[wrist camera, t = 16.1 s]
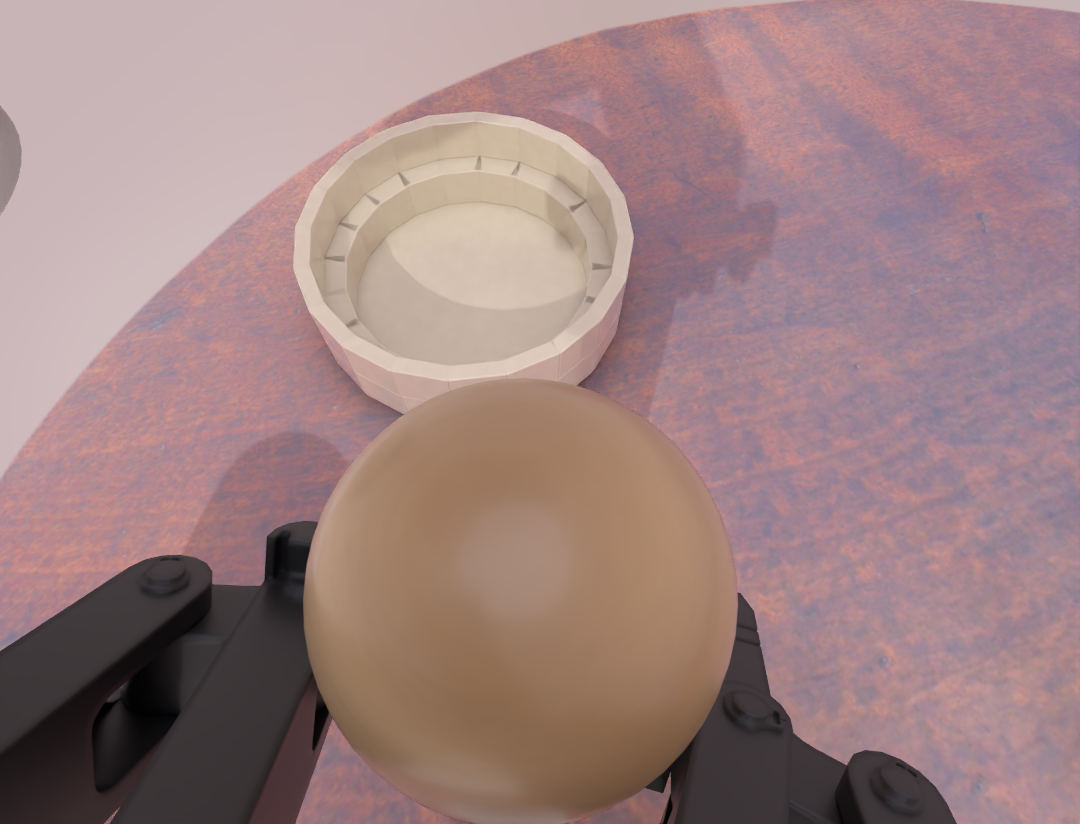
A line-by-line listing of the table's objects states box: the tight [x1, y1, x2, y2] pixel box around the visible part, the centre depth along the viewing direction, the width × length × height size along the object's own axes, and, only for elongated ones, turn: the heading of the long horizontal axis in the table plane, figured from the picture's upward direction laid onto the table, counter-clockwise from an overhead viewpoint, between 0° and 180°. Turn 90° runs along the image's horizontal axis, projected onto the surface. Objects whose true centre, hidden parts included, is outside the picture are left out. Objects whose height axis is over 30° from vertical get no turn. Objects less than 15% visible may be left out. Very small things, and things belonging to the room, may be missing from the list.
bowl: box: [293, 111, 634, 414], centre depth 35 cm, size 17×17×6 cm
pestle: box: [303, 378, 738, 824], centre depth 12 cm, size 5×5×15 cm
